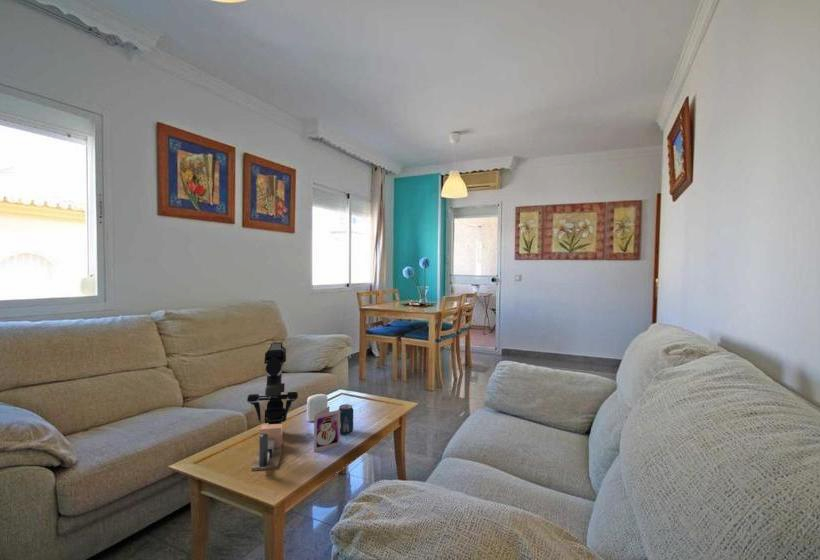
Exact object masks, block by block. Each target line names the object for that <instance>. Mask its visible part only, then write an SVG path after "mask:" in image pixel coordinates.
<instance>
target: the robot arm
mask: <svg viewBox="0 0 820 560" xmlns="http://www.w3.org/2000/svg"><path fill="white" fill-rule="evenodd" d="M263 361H264V362H263V364H264V365H266V366H265V372H266V385H265V390H264V391H265V392H264V395H260V394H259V393H254V394H253V393H251V394H248V395H247V399H246V401H247V403H248V404H250V405H251V406H253V407H254V408H255V410H256V415H257V418H258V419H257V420H258V422H261V419H262V418H261V417H262V416H261V403H260V402H261V401H262V402H263V401H267V403H266V409H264V425H269V424H282V425H283V422H285V423H286V421H287V415H288V413H289V410H290V407H291V406H292V404H294V403H295V401H298V399H299V398H298V397H299V395H298V392H297V391H289V392H288V391H287V394H282V393H284V392H285V389H286V387H285V383H284V382H283V383H282V378H283V376H282V375H283V368H284V366H285V363H286V362H287V349H286V347H285V346H284V345H283V343H282V342H272V343H271V344H270V347H269V348H268V349H267V350H266V351H265V352H264V360H263ZM283 400H286V403H285V405H284V401H283ZM284 406H285V407H284ZM283 436H284V433H283V430H282V437H283Z"/></svg>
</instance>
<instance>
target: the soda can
mask: <svg viewBox="0 0 820 560" xmlns="http://www.w3.org/2000/svg"><path fill="white" fill-rule="evenodd" d="M338 410H340V434H342V435H341V436H348V435H347V434H349V435H351V434H352V433H353V431H354V408H353V405H351V404H347V403H346V404H341V405H339V408H338ZM350 433H351V434H350Z"/></svg>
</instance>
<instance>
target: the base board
mask: <svg viewBox="0 0 820 560" xmlns="http://www.w3.org/2000/svg"><path fill="white" fill-rule="evenodd" d="M283 447H284V441H282V445H281V447H279V448H276V449H275V453H274V456H273V458H271V459H269V460H268V465H267V466H266V468H261V467H259V449H258V450H257V453H256V455H255V458H254V460H253V463H252V466H251V471H262V470H264V471H265V470H272V469H273V470H274V469H278V467H279V463H280V460H281V456H282V451H283Z"/></svg>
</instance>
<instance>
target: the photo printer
mask: <svg viewBox="0 0 820 560" xmlns="http://www.w3.org/2000/svg"><path fill="white" fill-rule="evenodd" d="M328 400H329V399H328V395H327V394H324V393H318V394H316V393H315V394H313V395H310V396H308V397H307V400H306V422H314V415H316V414H317V413H319V412H321V411H322V410H324V409H325V408H327V407H328Z"/></svg>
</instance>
